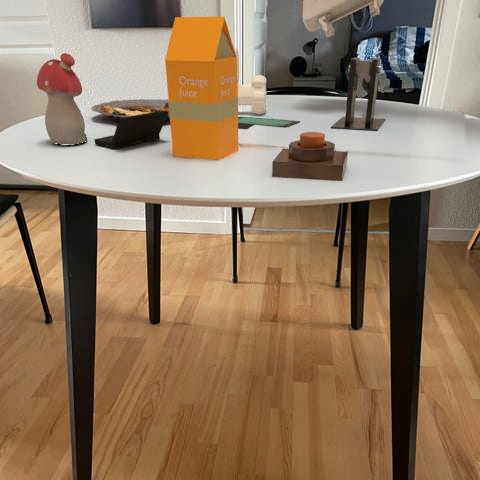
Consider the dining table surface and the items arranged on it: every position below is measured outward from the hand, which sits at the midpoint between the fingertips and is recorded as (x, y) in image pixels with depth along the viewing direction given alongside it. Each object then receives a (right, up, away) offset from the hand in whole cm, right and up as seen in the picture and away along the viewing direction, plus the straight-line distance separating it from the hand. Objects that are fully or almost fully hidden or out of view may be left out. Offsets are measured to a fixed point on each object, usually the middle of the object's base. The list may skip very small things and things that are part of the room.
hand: (351, 24), depth 100 cm
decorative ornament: (-55, -26, -6) cm, 61 cm away
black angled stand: (-42, -27, -7) cm, 51 cm away
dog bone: (-24, -10, +20) cm, 32 cm away
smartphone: (-18, -19, +5) cm, 27 cm away
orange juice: (-28, -31, -15) cm, 45 cm away
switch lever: (+3, -12, +1) cm, 12 cm away
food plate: (-44, -12, +17) cm, 49 cm away
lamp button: (-12, -34, -28) cm, 46 cm away
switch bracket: (+2, -21, +1) cm, 21 cm away
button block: (-12, -37, -26) cm, 47 cm away
